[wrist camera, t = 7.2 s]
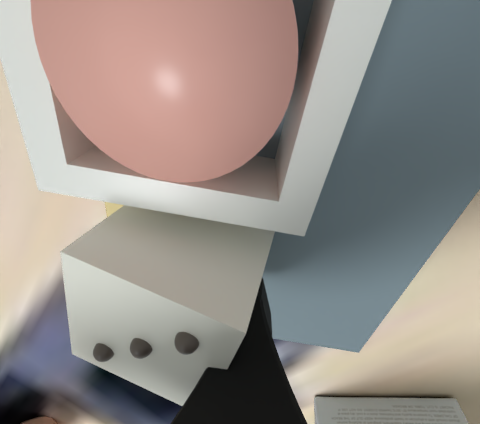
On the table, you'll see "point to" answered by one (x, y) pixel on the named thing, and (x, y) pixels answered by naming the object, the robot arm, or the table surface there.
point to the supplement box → (387, 410)
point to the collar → (229, 185)
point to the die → (162, 295)
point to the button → (171, 78)
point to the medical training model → (40, 420)
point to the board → (383, 177)
